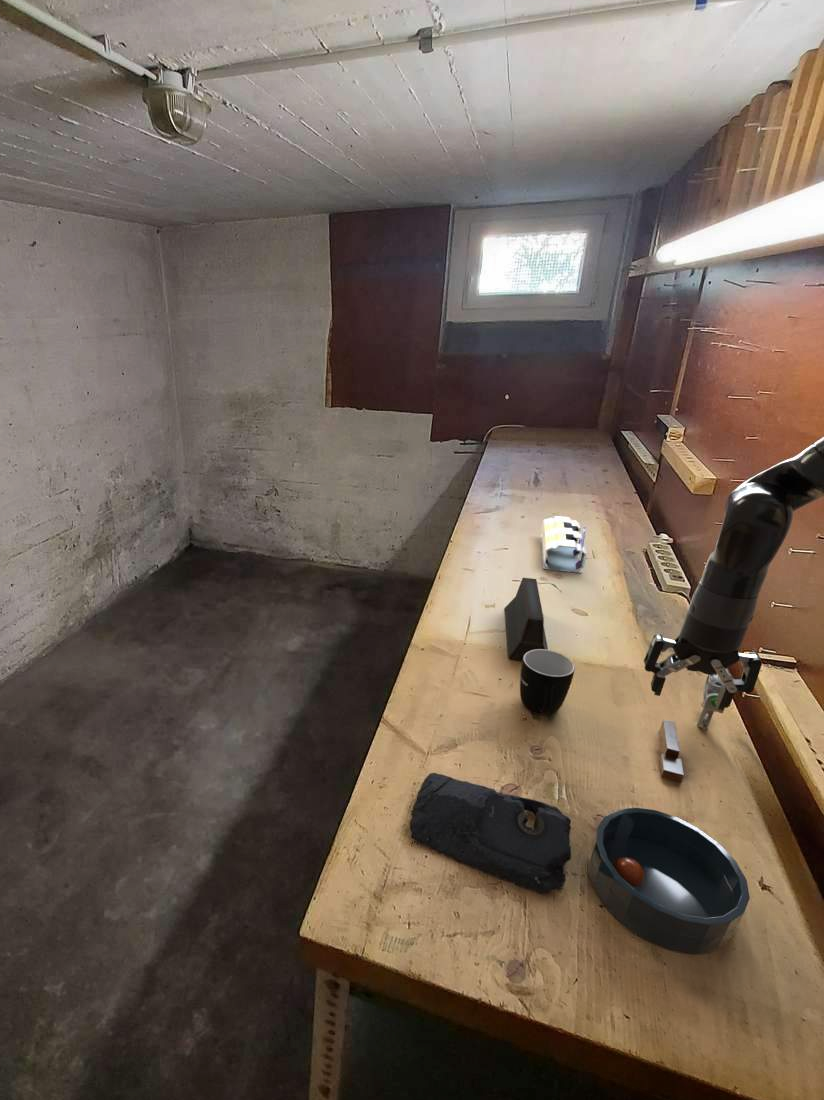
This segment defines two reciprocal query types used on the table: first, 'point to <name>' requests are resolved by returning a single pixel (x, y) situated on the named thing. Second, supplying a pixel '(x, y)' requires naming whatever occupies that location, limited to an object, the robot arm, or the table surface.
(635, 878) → the bead
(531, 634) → the barrier
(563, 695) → the mug
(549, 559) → the diorama
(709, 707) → the mechanical component
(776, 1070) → the table surface
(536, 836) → the dark slate chunk
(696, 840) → the bowl
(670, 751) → the dark brown wooden bar
